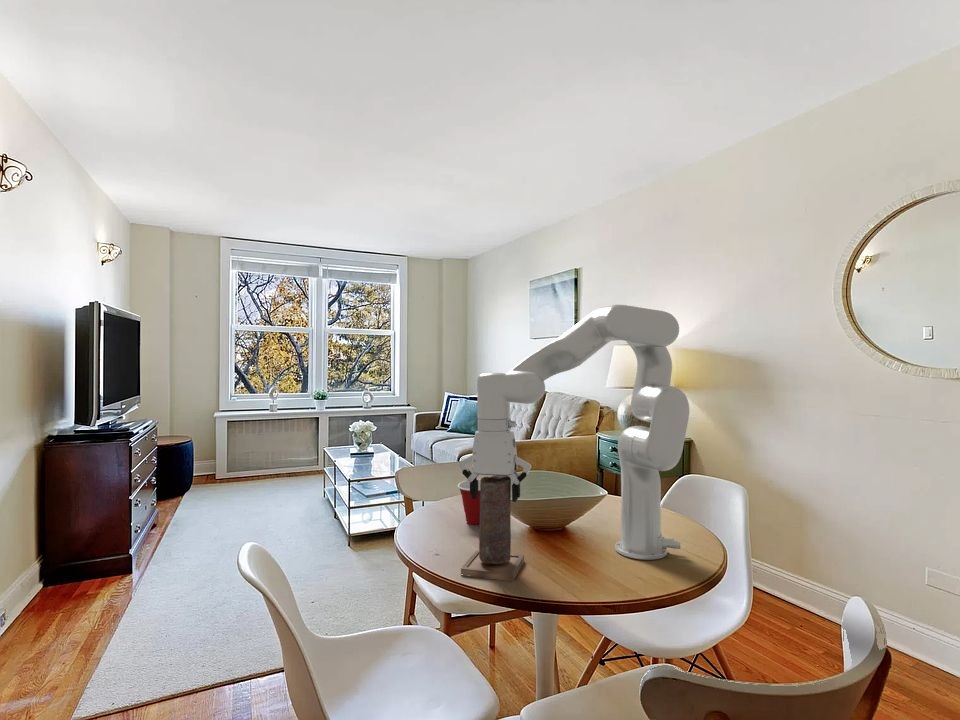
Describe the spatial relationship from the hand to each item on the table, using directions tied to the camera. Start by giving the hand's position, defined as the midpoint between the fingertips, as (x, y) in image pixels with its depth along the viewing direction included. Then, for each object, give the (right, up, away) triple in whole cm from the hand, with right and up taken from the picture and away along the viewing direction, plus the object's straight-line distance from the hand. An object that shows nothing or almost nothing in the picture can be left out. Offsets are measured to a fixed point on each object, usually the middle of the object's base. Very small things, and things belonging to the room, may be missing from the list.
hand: (494, 499), depth 124 cm
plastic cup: (-5, -16, +34) cm, 38 cm away
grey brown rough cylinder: (0, -15, 0) cm, 15 cm away
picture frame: (0, -16, 0) cm, 16 cm away
